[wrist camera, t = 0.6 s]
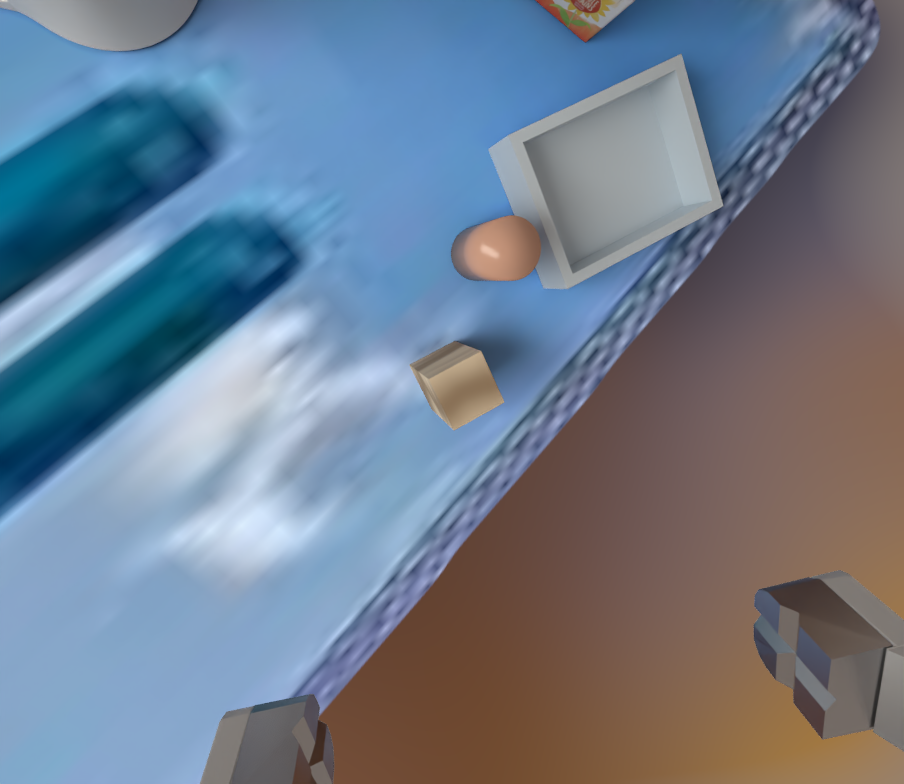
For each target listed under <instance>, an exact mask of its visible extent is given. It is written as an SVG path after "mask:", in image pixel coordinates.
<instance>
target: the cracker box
mask: <svg viewBox="0 0 904 784" xmlns="http://www.w3.org/2000/svg"><path fill="white" fill-rule="evenodd" d="M536 1H537V2H538V3H539V4H540V5H541V6H543V7H544V8H545V9H546V10H547V11H548V12H550V13H551V14H552V15H553V16H554V17H556V18H557V19H558V20H559V21H560V22H561V23H563V24H564V25H565V26H566V27H567V28H568V29H570V30H571V31H572V32H573V33H574V34H576V35H577V36H578V37H579V38H580V39H581V40H583V41H584V42H587V41H588V40H589V39H591V38H592V37H593V36H594V35H595V34H596V33H598V32H599V31H600V30H601V29H602V28H604V27H605V26H606V25H607V24H608V23H609V22H611V21H612V20H613V19H614V18H615V17H616V16H618V15H619V14H620V13H621V12H622V11H623V10H625V9H626V8H627V7H628V6H629V5H630V4H632V3H633V2H634V1H635V0H536Z"/></svg>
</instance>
